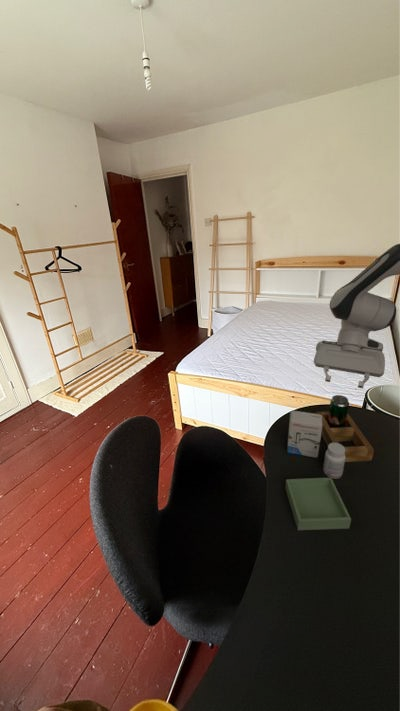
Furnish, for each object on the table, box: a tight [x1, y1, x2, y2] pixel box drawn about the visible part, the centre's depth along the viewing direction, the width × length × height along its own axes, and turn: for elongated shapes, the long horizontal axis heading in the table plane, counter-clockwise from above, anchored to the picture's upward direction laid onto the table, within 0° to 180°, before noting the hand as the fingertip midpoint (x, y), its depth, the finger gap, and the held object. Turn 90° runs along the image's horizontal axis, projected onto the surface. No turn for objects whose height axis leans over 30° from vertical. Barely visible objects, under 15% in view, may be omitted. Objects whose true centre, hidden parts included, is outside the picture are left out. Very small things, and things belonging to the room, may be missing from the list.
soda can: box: [327, 394, 350, 428], centre depth 91 cm, size 5×5×12 cm
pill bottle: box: [322, 442, 346, 479], centre depth 77 cm, size 5×5×8 cm
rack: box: [315, 410, 375, 463], centre depth 89 cm, size 10×18×4 cm, turn 179°
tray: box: [284, 477, 352, 531], centre depth 70 cm, size 11×11×3 cm
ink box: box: [286, 410, 322, 459], centre depth 84 cm, size 9×5×12 cm, turn 71°
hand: (343, 384), depth 93 cm, fingers open, 8 cm apart
